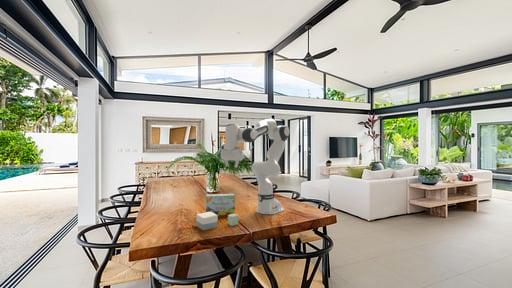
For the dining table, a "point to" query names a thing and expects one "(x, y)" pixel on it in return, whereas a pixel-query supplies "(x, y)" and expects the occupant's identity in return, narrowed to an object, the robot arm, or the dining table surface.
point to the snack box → (220, 204)
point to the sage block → (233, 219)
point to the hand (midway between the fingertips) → (231, 166)
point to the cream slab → (207, 218)
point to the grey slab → (206, 225)
